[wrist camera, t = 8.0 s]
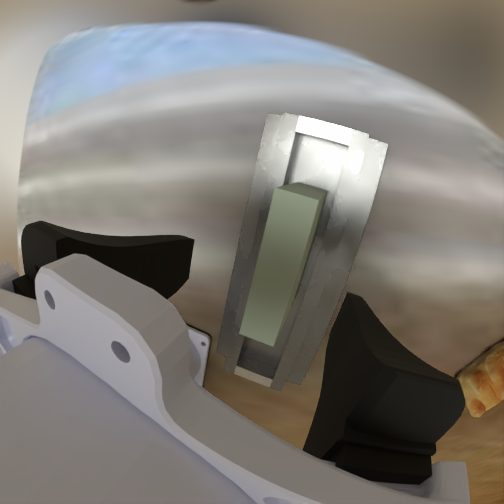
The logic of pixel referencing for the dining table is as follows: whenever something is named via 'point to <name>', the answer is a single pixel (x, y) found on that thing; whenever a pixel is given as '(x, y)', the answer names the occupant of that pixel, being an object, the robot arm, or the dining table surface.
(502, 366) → the pastry
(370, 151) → the door track
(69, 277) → the robot arm
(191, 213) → the dining table surface
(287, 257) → the door panel
